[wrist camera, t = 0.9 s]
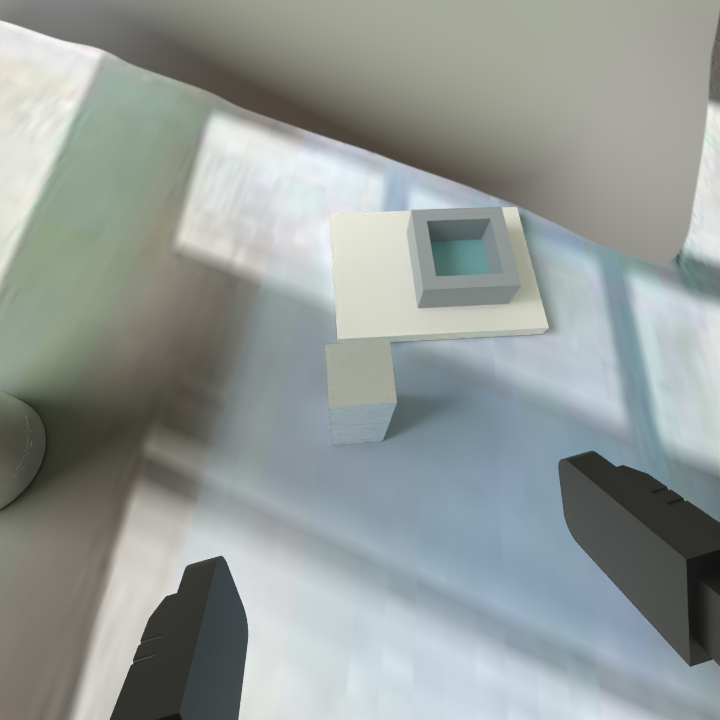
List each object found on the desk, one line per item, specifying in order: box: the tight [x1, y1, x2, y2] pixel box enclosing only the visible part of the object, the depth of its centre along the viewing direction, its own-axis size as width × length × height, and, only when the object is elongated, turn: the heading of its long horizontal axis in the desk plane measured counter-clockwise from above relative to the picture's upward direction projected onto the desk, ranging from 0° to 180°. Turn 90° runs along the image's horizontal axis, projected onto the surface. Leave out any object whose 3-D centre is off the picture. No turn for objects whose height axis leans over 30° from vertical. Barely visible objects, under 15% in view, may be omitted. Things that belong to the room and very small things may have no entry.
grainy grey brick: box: [325, 341, 397, 445], centre depth 32 cm, size 4×4×10 cm
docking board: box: [329, 207, 549, 344], centre depth 40 cm, size 18×13×4 cm
